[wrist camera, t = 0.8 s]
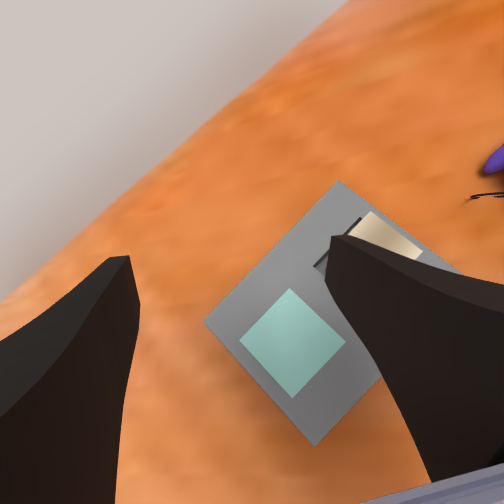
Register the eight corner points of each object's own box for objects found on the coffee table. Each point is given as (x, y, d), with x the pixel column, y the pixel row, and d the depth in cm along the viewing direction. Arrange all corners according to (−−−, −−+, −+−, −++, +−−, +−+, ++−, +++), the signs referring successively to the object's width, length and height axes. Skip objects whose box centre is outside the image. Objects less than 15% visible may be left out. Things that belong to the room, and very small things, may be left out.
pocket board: (454, 284, 24) (472, 280, 21) (314, 434, 23) (314, 448, 21) (336, 192, 27) (338, 178, 24) (212, 321, 27) (201, 321, 24)
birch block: (396, 267, 24) (423, 251, 18) (362, 303, 24) (378, 298, 18) (357, 235, 25) (370, 210, 20) (324, 269, 25) (328, 255, 20)
